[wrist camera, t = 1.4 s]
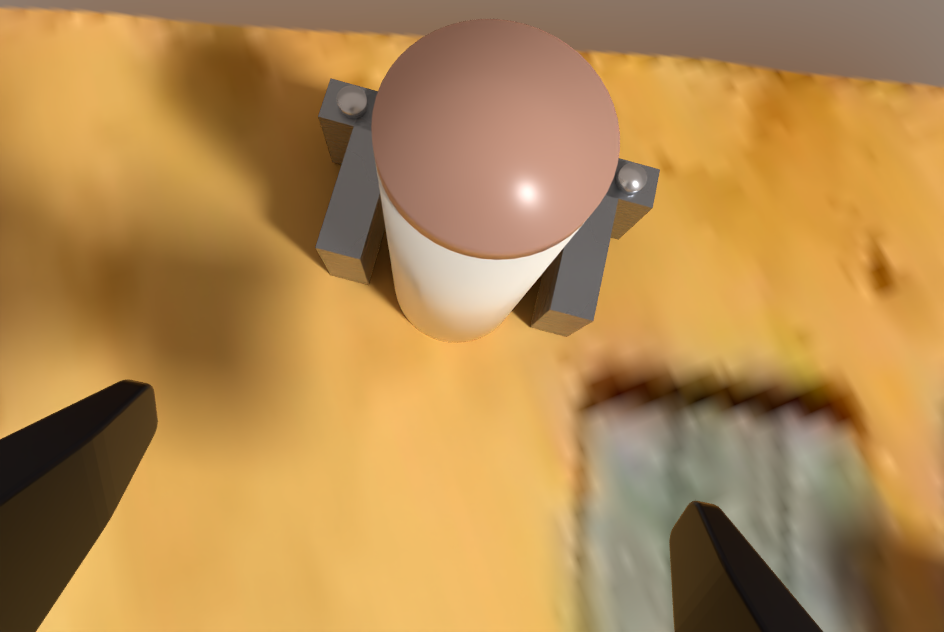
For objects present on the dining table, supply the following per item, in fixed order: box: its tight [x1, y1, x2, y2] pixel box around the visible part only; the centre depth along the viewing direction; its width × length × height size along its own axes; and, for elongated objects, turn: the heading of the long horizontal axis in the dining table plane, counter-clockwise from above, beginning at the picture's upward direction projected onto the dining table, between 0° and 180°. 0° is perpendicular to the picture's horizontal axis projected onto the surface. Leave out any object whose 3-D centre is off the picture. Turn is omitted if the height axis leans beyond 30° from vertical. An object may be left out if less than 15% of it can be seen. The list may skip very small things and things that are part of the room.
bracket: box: [315, 79, 660, 337], centre depth 21 cm, size 6×12×4 cm, turn 76°
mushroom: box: [371, 19, 620, 343], centre depth 17 cm, size 5×5×12 cm
